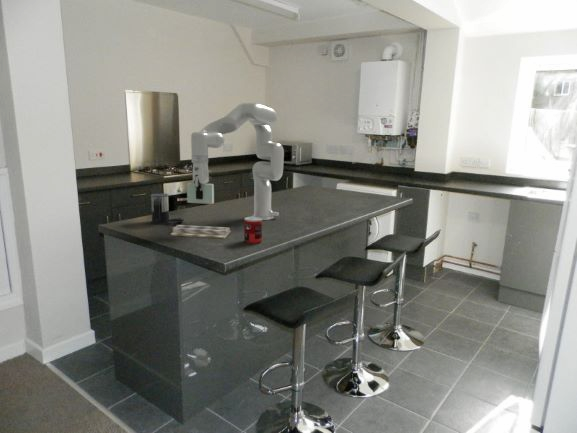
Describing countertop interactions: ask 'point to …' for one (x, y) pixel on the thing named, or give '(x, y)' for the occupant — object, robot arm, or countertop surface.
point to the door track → (200, 231)
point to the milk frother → (161, 209)
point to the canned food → (252, 230)
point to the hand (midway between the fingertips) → (200, 198)
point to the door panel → (207, 193)
